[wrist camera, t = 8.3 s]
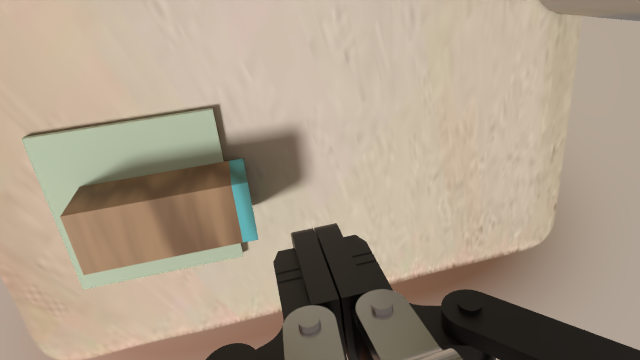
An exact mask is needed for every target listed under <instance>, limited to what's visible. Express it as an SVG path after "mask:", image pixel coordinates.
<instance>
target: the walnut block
mask: <svg viewBox="0 0 640 360" xmlns="http://www.w3.org/2000/svg"><path fill="white" fill-rule="evenodd" d="M60 218H61V220H62V223H63V225H64V228H65V230H66V233H67V235H68V238H69V240H70V243H71V245H72V248H73V250H74V253H75V255H76V258H77V260H78V262H79V265H80V267H81V270H82V272H83V275H87V274H92V273H97V272H102V271H107V270H112V269H116V268H121V267H126V266H131V265H136V264H141V263H146V262H151V261H156V260H160V259H165V258H170V257H175V256H180V255H185V254H190V253H195V252H200V251H204V250H209V249H214V248H219V247H224V246H229V245H234V244H239V243H244V242H249V241H253V240H258V235H257V229H256V224H255V219H254V213H253V208H252V203H251V197H250V192H249V187H248V181H247V176H246V171H245V165H244V160H243V159H237V160H231V161H225V162H220V163H214V164H208V165H202V166H197V167H191V168H185V169H179V170H174V171H168V172H162V173H156V174H151V175H145V176H139V177H133V178H128V179H122V180H116V181H110V182H105V183H99V184H93V185H87V186H82V187H79V188H78V190H77V191H76V193H75V194H74V196H73V197H72V199H71V200H70V202H69V204H68V205H67V207H66V208H65V210H64V211H63V213H62V214H61V216H60Z"/></svg>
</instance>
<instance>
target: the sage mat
mask: <svg viewBox="0 0 640 360" xmlns="http://www.w3.org/2000/svg"><path fill="white" fill-rule="evenodd" d="M22 142H23V144H24V147H25V149H26V152H27V154H28V157H29V159H30V161H31V164H32V166H33V169H34V171H35V174H36V176H37V178H38V181H39V183H40V186H41V188H42V191H43V193H44V195H45V198H46V200H47V203H48V205H49V208H50V210H51V212H52V215H53V217H54V220H55V222H56V225H57V227H58V229H59V232H60V234H61V237H62V239H63V242H64V244H65V246H66V249H67V251H68V254H69V256H70V259H71V261H72V264H73V266H74V268H75V271H76V273H77V276H78V278H79V281H80V283H81V285H82V288H83V290H84V289H89V288H94V287H99V286H103V285H108V284H113V283H118V282H123V281H127V280H132V279H137V278H142V277H146V276H151V275H156V274H161V273H165V272H170V271H175V270H180V269H185V268H189V267H194V266H199V265H204V264H208V263H213V262H218V261H223V260H227V259H232V258H237V257H242V256H243V251H242V246H241V243H239V244H234V245H229V246H224V247H219V248H214V249H209V250H204V251H200V252H195V253H190V254H185V255H180V256H175V257H170V258H165V259H160V260H156V261H151V262H146V263H141V264H136V265H131V266H126V267H121V268H116V269H112V270H107V271H102V272H97V273H92V274H87V275H83V272H82V270H81V267H80V265H79V262H78V260H77V258H76V255H75V253H74V250H73V248H72V245H71V243H70V240H69V238H68V235H67V233H66V230H65V228H64V225H63V223H62V220H61V218H60V216H61V214H62V213H63V211H64V210H65V208H66V207H67V205H68V204H69V202H70V200H71V199H72V197H73V196H74V194H75V193H76V191H77V190H78V188H79V187H82V186H87V185H93V184H99V183H105V182H110V181H116V180H122V179H128V178H133V177H139V176H145V175H151V174H156V173H162V172H168V171H174V170H179V169H185V168H191V167H197V166H202V165H208V164H214V163H220V162H224V160H223V155H222V150H221V145H220V141H219V136H218V131H217V126H216V121H215V117H214V112H213V108H207V109H200V110H194V111H187V112H181V113H174V114H168V115H161V116H155V117H148V118H142V119H135V120H129V121H122V122H116V123H110V124H103V125H97V126H90V127H84V128H77V129H71V130H64V131H58V132H51V133H45V134H38V135H32V136H25V137H23V138H22Z"/></svg>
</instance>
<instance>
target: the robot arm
mask: <svg viewBox="0 0 640 360" xmlns="http://www.w3.org/2000/svg"><path fill="white" fill-rule="evenodd" d="M540 1H541V2H542V4H543V5H544V6H546V7H547V8H548V9H549V10H551V11H554V12H556V13H560V14H569V15H580V16H591V17H599V18H610V19H621V20H622V19H623V20H633V21H640V0H540ZM291 237H292V243H293V248H292V249H288V250H283V251H278V253H277V255H276V258H275V260H274V262H273V263H274V268H275V274H276V279H277V285H278V290H279V296H280V301H281V306H282V312H283V318H284V322H283V326H282V329H281V331H280V332H279V333H278V335H277V336H276V337H275V338H274V339H273V340H271V341H270V342H269V343H267V344H265V345H264V346H262V347H260V348H258V349H256V350H255V349H254V348H253V347H251V346H249V345H246V344H242V343H235V344H229V345H226V346H223V347H221V348H219V349H218V350H216V351H214V352H213V353H212V354H211V355H210V356H209V357H208V358H207V359H206V360H347V358H346V354H347V357H348V360H496V358H497V359H499V360H640V351H639V350H637V349H634V348H632V347H629V346H626V345H623V344H620V343H617V342H615V341H612V340H610V339H607V338H604V337H601V336H599V335H596V334H593V333H591V332H588V331H585V330H582V329H580V328H577V327H574V326H571V325H569V324H566V323H563V322H561V321H558V320H555V319H552V318H550V317H547V316H544V315H542V314H539V313H536V312H533V311H531V310H528V309H525V308H522V307H520V306H517V305H514V304H511V303H509V302H506V301H503V300H501V299H498V298H495V297H493V296H490V295H487V294H484V293H482V292H478V291H474V290H458V291H454V292H452V293H449V294H448V295H446V296H445V298H444V299H443V301H442V305H441V306H421V305H414V304H411V303H408V301H407V300H406V299H405V298H404V297H403V296H402V295H401V294H399V293H398V292H395V291H393V290H392V288H391V286H390V284H389V282H388V281H387V279H386V277H385V275H384V273H383V271H382V270H381V268H380V266H379V264H378V262H376V259H375V257H374V255H373V254H372V251H371V250H370V248H369V246H368V244H367V242H366V241H364V240H363V239H361V238H360V237H358V236H356V235H352V236H347V237H343V236H342V234H341V231H340V229H339V227H338V225H337V224H336V223H335V224H330V225H326V226H321V227H316V228H314V229H313V228H312V229H307V230H302V231H298V232H293V233H291Z"/></svg>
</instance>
